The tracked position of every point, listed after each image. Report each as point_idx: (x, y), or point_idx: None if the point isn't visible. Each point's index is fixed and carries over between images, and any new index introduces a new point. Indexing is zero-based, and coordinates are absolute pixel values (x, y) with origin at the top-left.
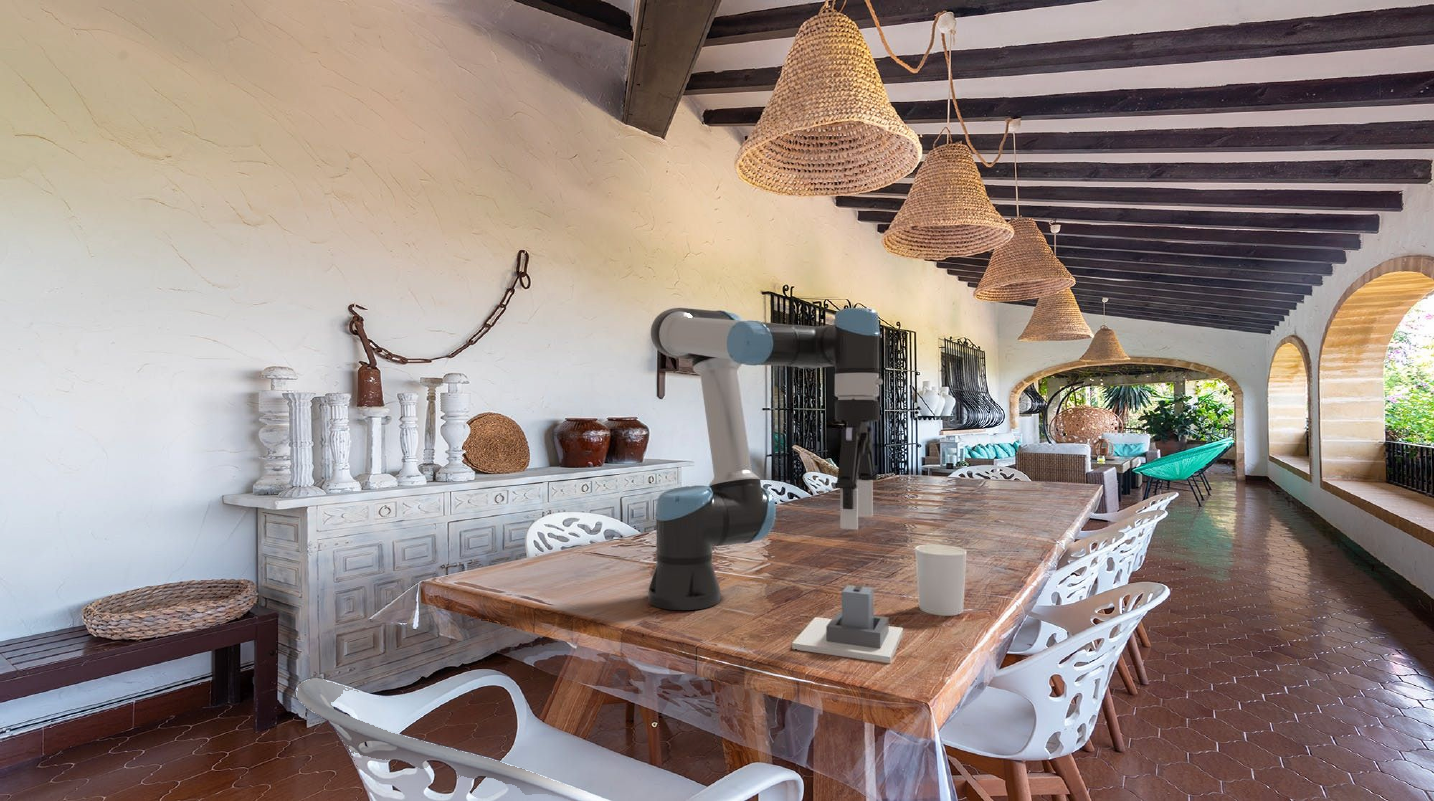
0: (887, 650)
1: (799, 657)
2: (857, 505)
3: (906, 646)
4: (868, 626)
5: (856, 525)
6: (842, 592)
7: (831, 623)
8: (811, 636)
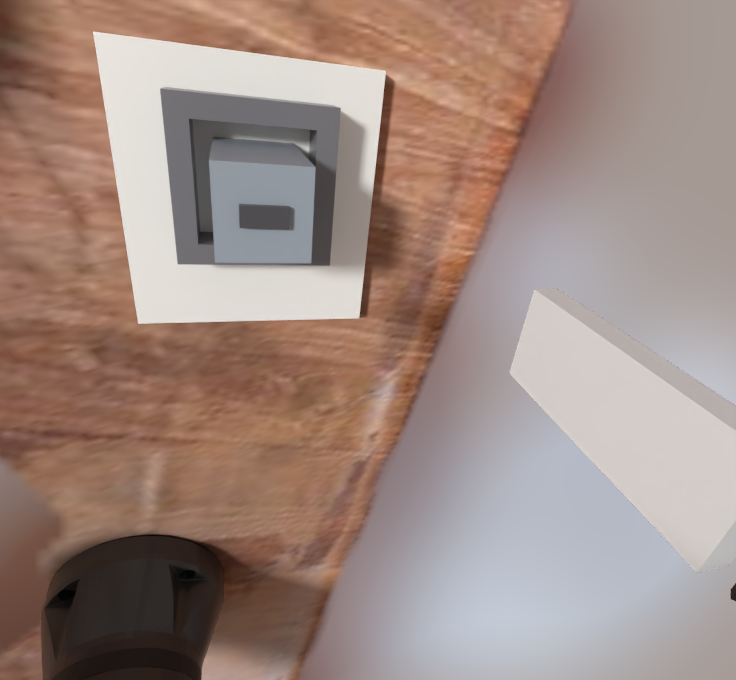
0: (338, 82)
1: (396, 286)
2: (654, 365)
3: (225, 20)
4: (299, 150)
5: (571, 302)
6: (309, 260)
7: None
8: (302, 292)
